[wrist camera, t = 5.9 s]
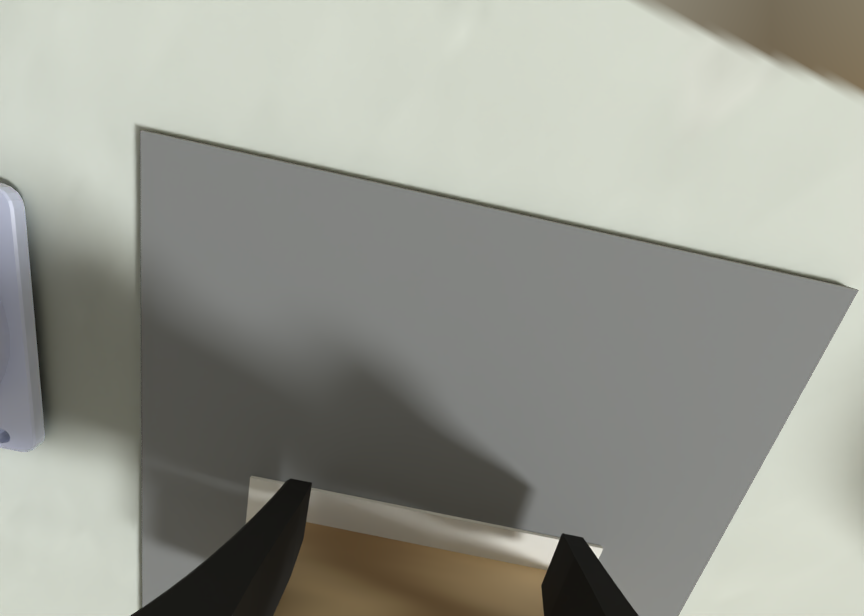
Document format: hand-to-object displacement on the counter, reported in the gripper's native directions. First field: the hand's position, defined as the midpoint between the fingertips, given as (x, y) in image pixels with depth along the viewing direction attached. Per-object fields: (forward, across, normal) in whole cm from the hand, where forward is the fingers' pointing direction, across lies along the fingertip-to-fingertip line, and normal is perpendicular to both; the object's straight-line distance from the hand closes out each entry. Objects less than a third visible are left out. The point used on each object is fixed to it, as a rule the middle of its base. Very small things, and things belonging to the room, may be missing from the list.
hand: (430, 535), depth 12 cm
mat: (+2, 0, +2) cm, 3 cm away
